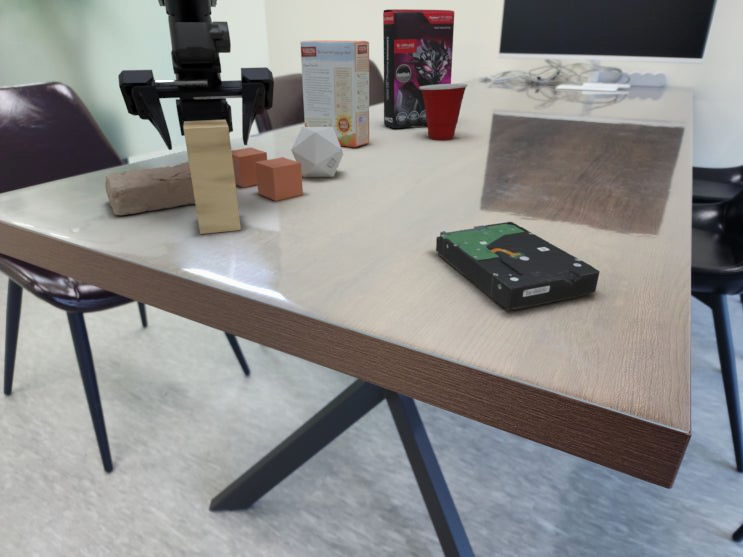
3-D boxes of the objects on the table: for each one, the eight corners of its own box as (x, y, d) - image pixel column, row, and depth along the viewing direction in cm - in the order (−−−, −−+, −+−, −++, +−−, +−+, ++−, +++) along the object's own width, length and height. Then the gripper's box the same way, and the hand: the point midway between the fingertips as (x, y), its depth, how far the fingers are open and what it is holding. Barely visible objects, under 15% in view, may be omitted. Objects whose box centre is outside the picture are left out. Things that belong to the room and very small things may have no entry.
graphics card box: (392, 130, 128) (395, 8, 116) (380, 125, 134) (381, 9, 122) (449, 125, 135) (457, 9, 122) (436, 121, 140) (442, 10, 128)
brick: (116, 218, 69) (109, 184, 67) (107, 201, 75) (100, 170, 73) (234, 199, 77) (231, 168, 75) (217, 185, 83) (214, 157, 81)
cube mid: (258, 193, 79) (255, 162, 77) (285, 187, 82) (282, 157, 80) (275, 201, 76) (272, 168, 73) (303, 194, 79) (301, 162, 76)
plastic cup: (431, 131, 126) (434, 80, 121) (471, 136, 121) (475, 83, 115) (408, 138, 118) (410, 84, 113) (449, 144, 113) (453, 87, 107)
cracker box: (370, 143, 113) (370, 40, 104) (355, 148, 108) (354, 41, 99) (320, 137, 120) (316, 39, 110) (304, 141, 115) (299, 40, 106)
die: (323, 189, 84) (354, 136, 83) (276, 160, 83) (307, 107, 82) (327, 192, 92) (355, 145, 92) (284, 166, 92) (313, 118, 91)
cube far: (228, 181, 85) (224, 151, 83) (254, 176, 88) (251, 147, 86) (242, 187, 82) (239, 156, 80) (269, 182, 85) (266, 152, 83)
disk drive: (596, 296, 50) (508, 240, 62) (603, 270, 48) (511, 219, 60) (507, 315, 46) (432, 252, 58) (511, 288, 45) (434, 230, 57)
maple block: (199, 221, 68) (183, 121, 62) (237, 217, 69) (225, 119, 63) (200, 234, 64) (183, 128, 58) (240, 230, 65) (228, 126, 59)
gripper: (102, -5, 58) (111, 107, 54) (265, -2, 64) (286, 100, 59) (124, 64, 69) (133, 164, 64) (263, 62, 74) (280, 154, 69)
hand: (208, 145), depth 64 cm, fingers open, 9 cm apart
